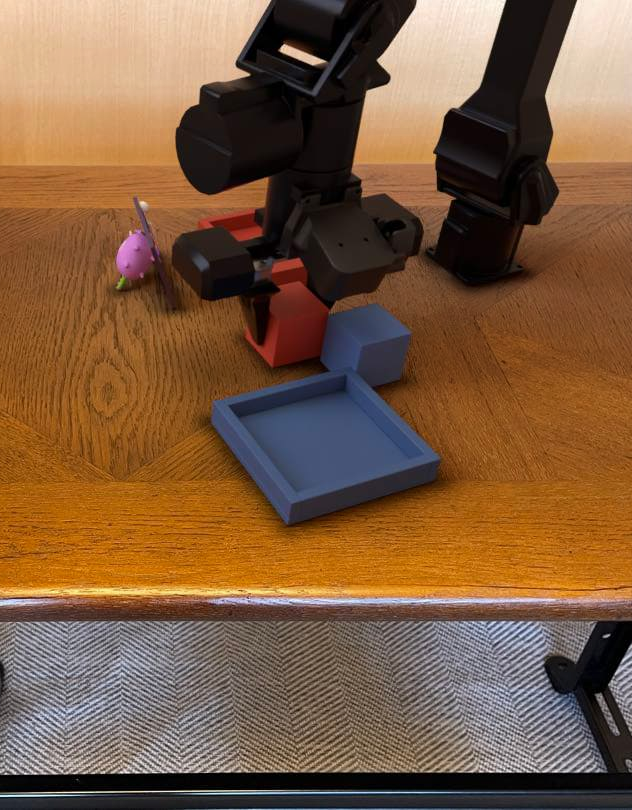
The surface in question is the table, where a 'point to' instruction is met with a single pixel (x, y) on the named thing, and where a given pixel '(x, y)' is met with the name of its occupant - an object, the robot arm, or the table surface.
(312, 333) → the red block
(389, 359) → the blue block
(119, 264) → the pink spiky toy
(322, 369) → the table surface
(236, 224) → the red tray
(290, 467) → the blue tray
